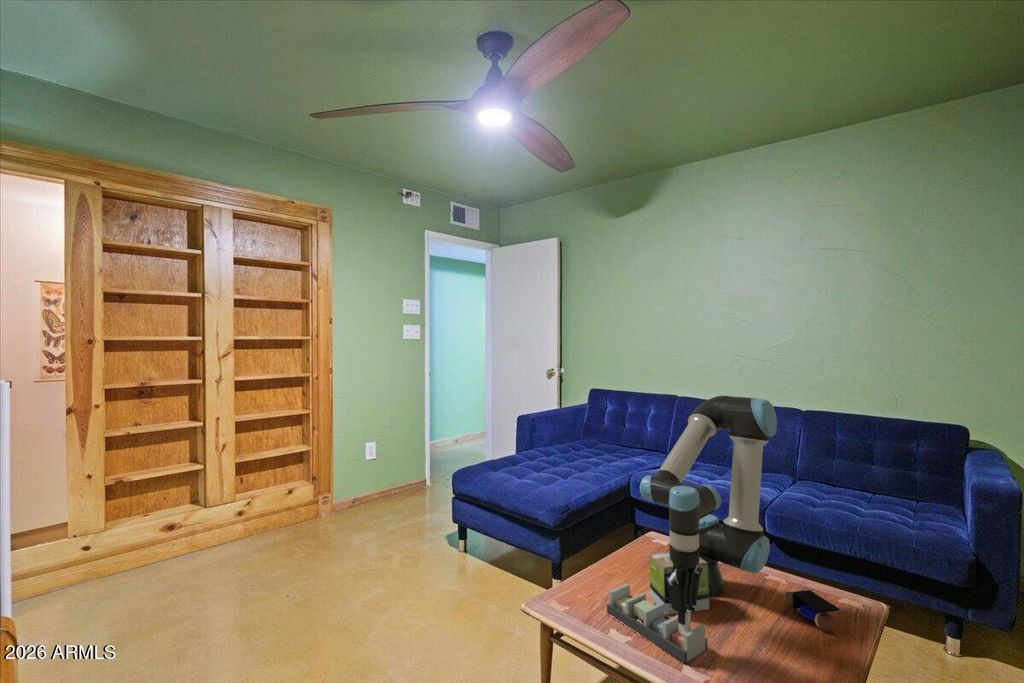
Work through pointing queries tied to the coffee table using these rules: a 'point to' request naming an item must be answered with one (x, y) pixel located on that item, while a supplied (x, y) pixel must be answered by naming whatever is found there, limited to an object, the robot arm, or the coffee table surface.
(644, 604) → the sage key
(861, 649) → the coffee table surface
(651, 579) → the tea box
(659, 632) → the slate key
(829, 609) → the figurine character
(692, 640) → the keypad base
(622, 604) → the ivory key
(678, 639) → the terracotta key
